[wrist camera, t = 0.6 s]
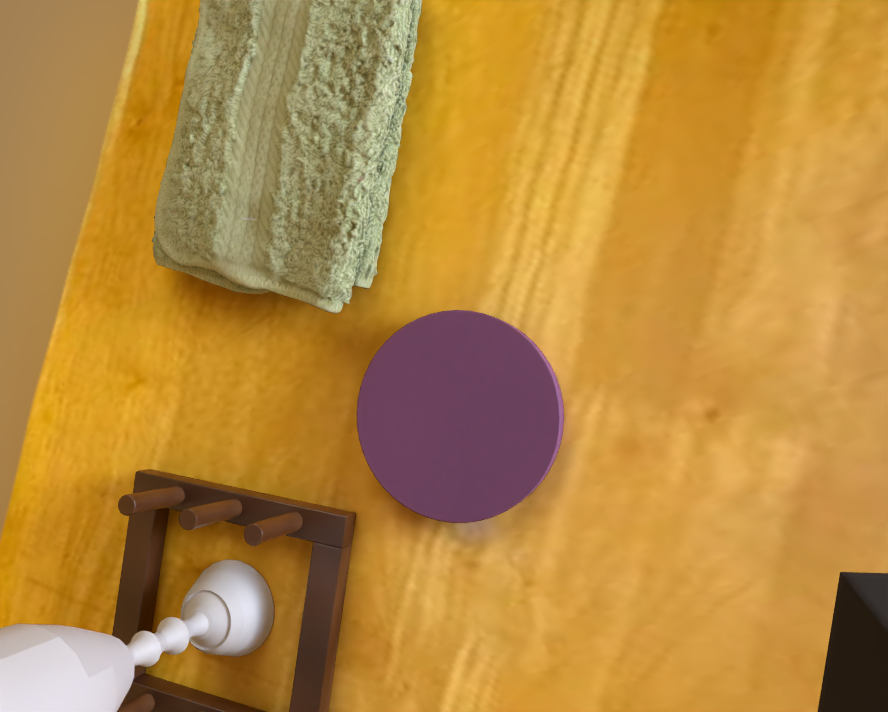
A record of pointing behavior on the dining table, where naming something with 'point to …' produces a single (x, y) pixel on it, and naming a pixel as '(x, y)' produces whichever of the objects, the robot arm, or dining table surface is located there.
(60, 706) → the chalice
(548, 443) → the lid
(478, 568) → the dining table surface
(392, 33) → the washcloth
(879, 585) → the robot arm
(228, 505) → the drying rack
